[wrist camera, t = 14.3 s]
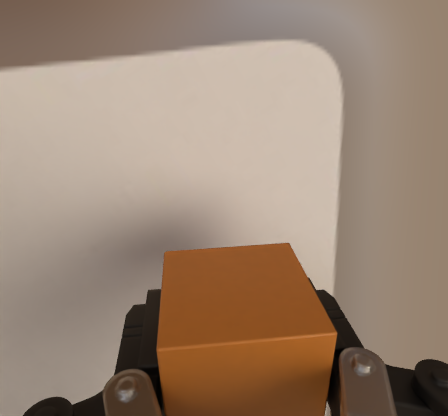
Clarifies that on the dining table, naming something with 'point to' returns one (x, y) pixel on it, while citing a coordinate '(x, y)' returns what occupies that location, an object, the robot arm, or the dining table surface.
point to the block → (242, 334)
